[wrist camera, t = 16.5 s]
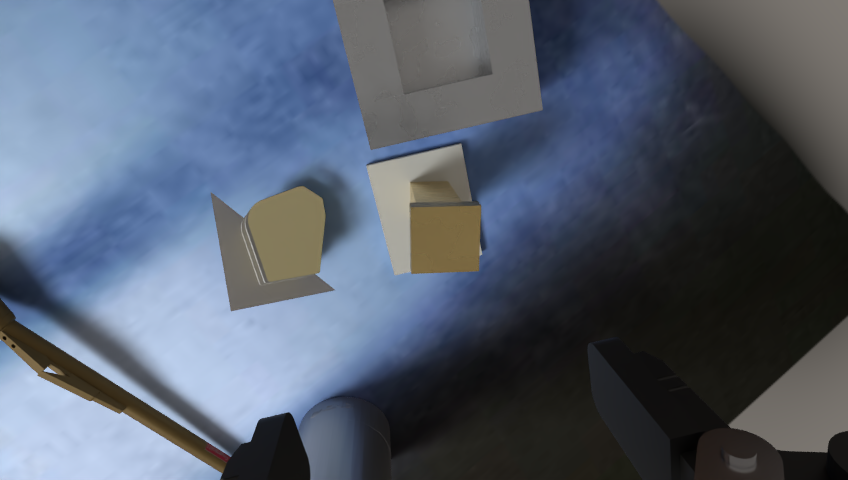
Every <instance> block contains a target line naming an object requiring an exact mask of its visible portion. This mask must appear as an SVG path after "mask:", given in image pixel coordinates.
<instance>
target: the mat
mask: <svg viewBox="0 0 848 480" xmlns="http://www.w3.org/2000/svg"><path fill="white" fill-rule="evenodd" d="M367 170H368V174H369V178H370V182H371V185H372V189H373V193H374V197H375V201H376V205H377V209H378V212H379V216H380V220H381V224H382V228H383V232H384V236H385V239H386V243H387V247H388V251H389V255H390V259H391V263H392V266H393V270H394V274H395V275H398V274H403V273H407V272H411V268H410V213H409V203H410V182H431V181H448V182H449V183H450V185H451V186H452V188H453V189H454V191H455V192H456V194H457V195H458V197H459V198H460V199H461V201H472V198H471V193H470V187H469V182H468V177H467V171H466V166H465V161H464V155H463V150H462V145H461V143H459V144H454V145H450V146H446V147H441V148H437V149H433V150H428V151H424V152H420V153H416V154H411V155H407V156H403V157H398V158H394V159H390V160H385V161H381V162H377V163H373V164H368V165H367ZM479 255H482V251H481V246H480V252H479Z"/></svg>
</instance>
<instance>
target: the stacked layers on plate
mask: <svg viewBox="0 0 848 480" xmlns="http://www.w3.org/2000/svg"><path fill="white" fill-rule="evenodd" d="M211 197H212V203H213V209H214V215H215V220H216V226H217V232H218V238H219V244H220V250H221V255H222V261H223V267H224V273H225V279H226V285H227V290H228V296H229V302H230V308H231V311H234V310H239V309H244V308H249V307H254V306H259V305H264V304H269V303H274V302H279V301H283V300H288V299H293V298H298V297H303V296H308V295H313V294H318V293H323V292H328V291H333V290H334V289H333V288H332V287H331V286H329V285H328V284H327V283H325V282H324V281H323V280H322V279H320V278H319V277H318V276H317V275H315V274H317V273H319V272H320V264H321V255H322V245H323V235H324V226H325V216H326V215H325V209H324V204H323V199H322V198H321V197H320V196H318V195H316V194H315V193H313V192H312V191H310V190H309V189H307V188H306V187H304V186H300V187H296V188H293V189H291V190H288V191H285V192H283V193H280V194H277V195H275V196H272V197H269V198H266V199H264V200H261V201H259V202H257V203H256V204H255V205H254V206H253V207H252V208H251V210H250V211H249V212H248V214H247V215H246V216H245V217H244V218H243V217H242V216H240V215H239V214H238V213H237V212H235V211H234V210H233V209H231V208H230V207H229V206H228V205H226V204H225V203H224V202H223V201H221V200H220V199H219V198H218V197H216V196H215V195H214V194H212V193H211Z"/></svg>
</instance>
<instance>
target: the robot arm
mask: <svg viewBox="0 0 848 480" xmlns="http://www.w3.org/2000/svg"><path fill="white" fill-rule="evenodd" d="M588 359H589V369H590V379H591V388H592V395H593V399H594V402H595V405H596V407H597V410H598V412H599V414H600V415H601V417H602V418H603V420H604V422H605V423H606V425H607V426H608V428H609V429H610V431H611V432H612V434H613V435H614V437H615V438H616V440H617V441H618V443H619V444H620V446H621V447H622V449H623V450H624V452H625V453H626V455H627V456H628V458H629V459H630V461H631V462H632V464H633V465H634V467H635V468H636V470H637V471H638V473H639V474H640V476H641V478H642V479H643V480H848V431H845V432H841V433H838V434H836V435H834V436H833V437H832V438H831V439H830V441H829V445H828V453H824V452H794V451H792V452H791V451H780V450H776V449H775V448H774V447H773V446H772V445H771V444H770V443H769V442H767V441H766V440H764V439H763V438H761V437H759V436H757V435H755V434H753V433H750V432H747V431H744V430H740V429H734V428H730V427H729V426H728V425H727V424H726V423H725V422H724V421H723V420H722V419H721V418H720V417H719V416H718V415H717V414H716V413H715V412H714V411H713V410H712V409H711V408H710V407H709V406H708V405H707V404H706V403H705V402H704V401H703V400H702V399H701V398H700V397H699V396H698V395H697V394H696V393H695V392H694V391H693V390H692V389H691V388H690V387H689V388H688V387H687V384H686V383H685V382H684V381H683V380H682V379H681V378H680V377H679V376H678V377H677V376H676V373H675V372H674V371H673V370H672V369H671V368H670V367H668V366H667V365H666V364H665V363H664V362H663V361H662V360H660V359H658V358H656V357H654V356H652V355H650V354H648V353H646V352H644V351H642V352H638V353H633V352H632V351H631V350H630V349H629V348H628V347H627V346H626V345H625V344H624V343H623V342H622V341H621V339H619V338H618V337H614V338H610V339H606V340H601V341H597V342H593V343H589V344H588ZM220 480H391V444H390V427H389V423H388V420H387V419H386V417H385V415H384V414H383V412H382V411H381V410H380V409H379V408H378V407H376V406H375V405H373V404H372V403H370V402H368V401H366V400H363V399H360V398H355V397H335V398H330V399H327V400H324V401H322V402H320V403H319V404H317V405H315V406H314V407H313V408H311V409H310V410H309V411H308V412H307V413H306V415H305V416H304V417H303V419H302V421H301V424H300V426H299V430H298V429H297V426H296V424H295V421H294V418H293V416H292V415H291V414H290V413H284V414H280V415H275V416H271V417H267V418H262V419H260V420H259V421H258V423H257V426H256V429H255V432H254V434H253V437H252V440H251V442H248V443H244V444H241V445H240V447H239V448H238V449H237V450H236V452H235V453H234V454H233V455H232V456H231V458H230V459H229V460H228V461H227V464H226V466H225V469H224V471H223V474H222V476H221V479H220Z"/></svg>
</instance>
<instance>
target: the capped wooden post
mask: <svg viewBox="0 0 848 480" xmlns="http://www.w3.org/2000/svg"><path fill="white" fill-rule="evenodd" d="M409 213H410V268H411V274H417V273H443V272H469V271H479V252H480V223H481V205H480V204H479V202H478V201H461V199H460V198H459V197H458V195H457V194H456V192H455V191H454V189H453V188H452V186H451V185H450V183H449V182H448V181H431V182H410V203H409Z"/></svg>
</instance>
